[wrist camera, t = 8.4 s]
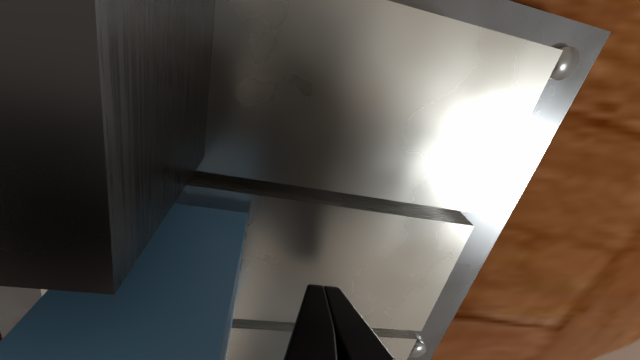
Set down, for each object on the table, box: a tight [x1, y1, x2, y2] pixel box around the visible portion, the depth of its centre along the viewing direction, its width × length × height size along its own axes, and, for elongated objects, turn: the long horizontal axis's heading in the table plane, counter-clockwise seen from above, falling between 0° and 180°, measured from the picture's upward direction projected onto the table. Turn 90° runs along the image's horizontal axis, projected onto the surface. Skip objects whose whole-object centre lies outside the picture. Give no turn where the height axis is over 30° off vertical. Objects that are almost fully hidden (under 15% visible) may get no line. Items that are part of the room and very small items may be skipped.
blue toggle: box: [0, 203, 248, 360], centre depth 6 cm, size 4×2×4 cm
